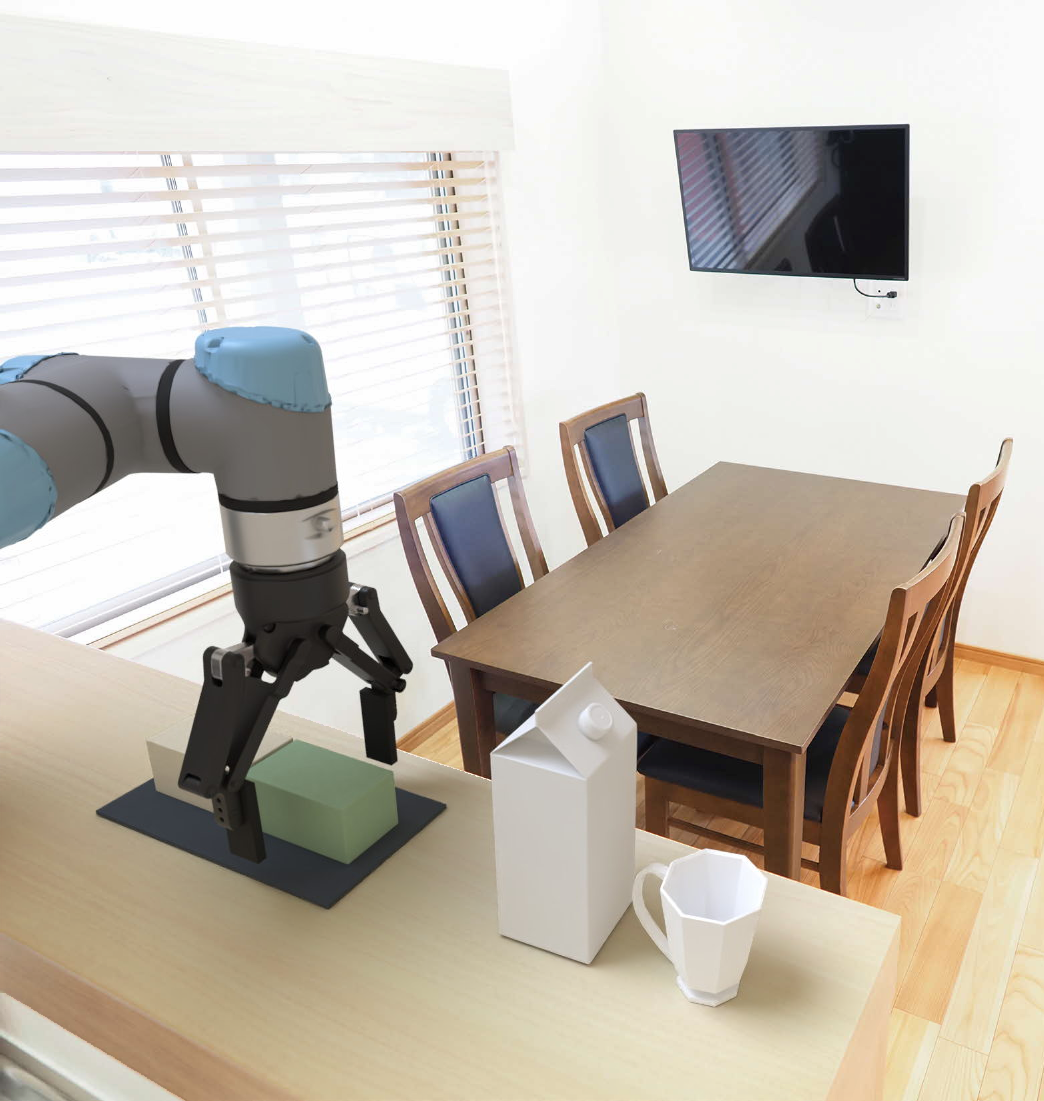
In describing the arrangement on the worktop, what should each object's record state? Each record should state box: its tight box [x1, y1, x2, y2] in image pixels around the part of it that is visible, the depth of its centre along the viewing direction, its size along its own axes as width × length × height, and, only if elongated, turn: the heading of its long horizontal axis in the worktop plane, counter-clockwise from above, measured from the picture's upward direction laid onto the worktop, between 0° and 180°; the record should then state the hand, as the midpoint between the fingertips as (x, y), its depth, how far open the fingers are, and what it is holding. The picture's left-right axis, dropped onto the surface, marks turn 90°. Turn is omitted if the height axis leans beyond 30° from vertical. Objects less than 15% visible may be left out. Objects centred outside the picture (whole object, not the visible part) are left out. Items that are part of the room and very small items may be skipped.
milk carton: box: [489, 661, 638, 965], centre depth 63 cm, size 7×7×19 cm
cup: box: [632, 848, 769, 1008], centre depth 62 cm, size 7×10×8 cm
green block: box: [245, 739, 398, 864], centre depth 73 cm, size 10×6×5 cm, turn 67°
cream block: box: [145, 713, 294, 813], centre depth 77 cm, size 10×6×5 cm, turn 67°
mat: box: [95, 777, 448, 910], centre depth 76 cm, size 24×13×1 cm, turn 67°
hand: (320, 804), depth 73 cm, fingers open, 13 cm apart
